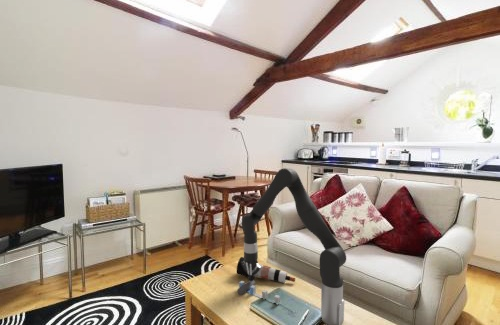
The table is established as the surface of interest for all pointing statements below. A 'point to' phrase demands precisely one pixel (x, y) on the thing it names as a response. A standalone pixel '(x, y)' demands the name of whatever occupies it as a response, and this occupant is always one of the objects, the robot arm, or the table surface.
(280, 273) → the cable
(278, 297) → the blue grey peg rack
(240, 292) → the gray elongated ellipsoid
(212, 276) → the table surface
